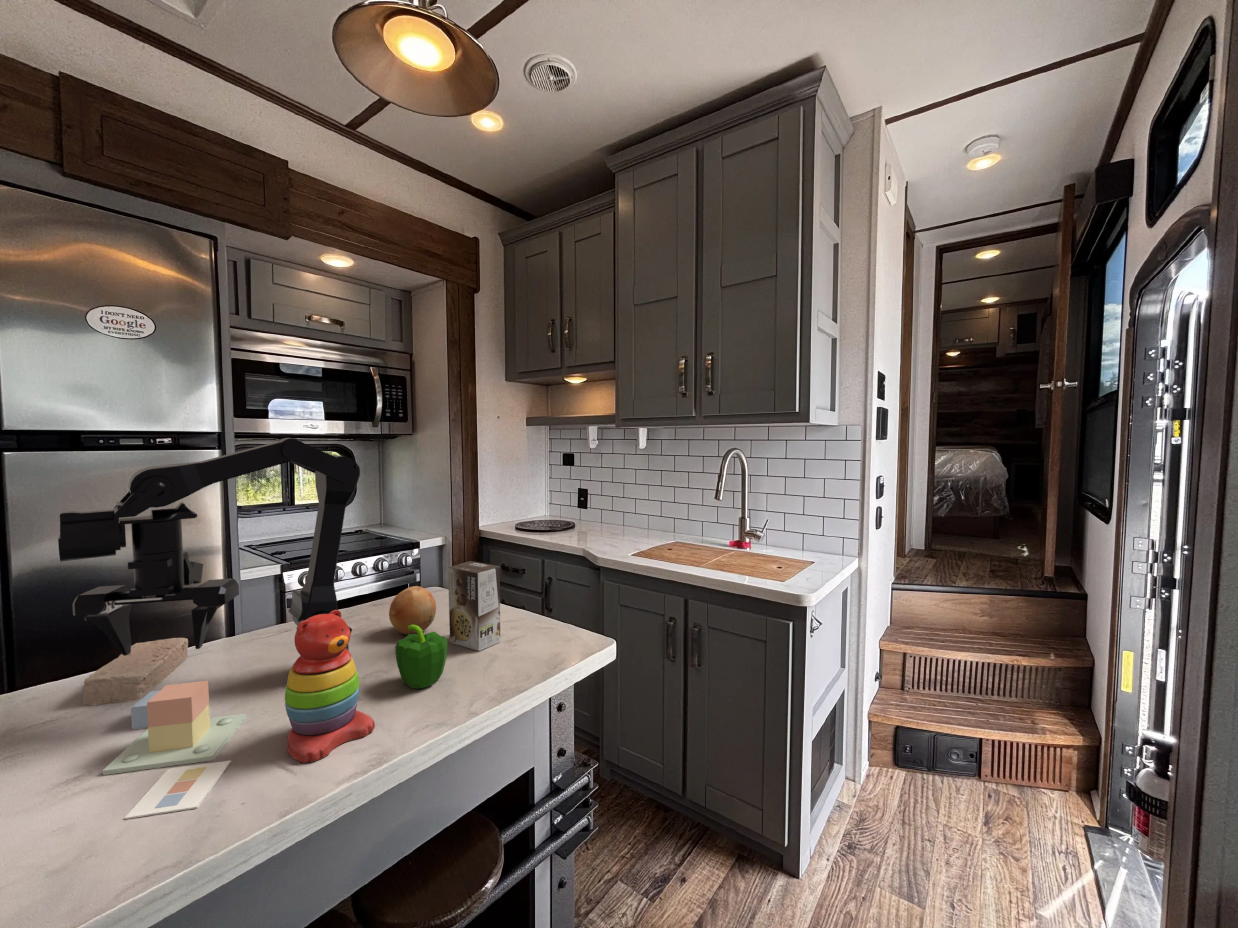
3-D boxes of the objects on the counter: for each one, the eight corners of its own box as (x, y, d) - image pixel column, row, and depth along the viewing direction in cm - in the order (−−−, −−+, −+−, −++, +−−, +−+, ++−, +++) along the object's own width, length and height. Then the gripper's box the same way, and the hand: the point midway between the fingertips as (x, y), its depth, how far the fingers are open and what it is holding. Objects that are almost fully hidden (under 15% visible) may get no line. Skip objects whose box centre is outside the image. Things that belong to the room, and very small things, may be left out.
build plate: (246, 717, 82) (245, 691, 81) (212, 760, 71) (211, 730, 71) (152, 728, 78) (151, 701, 78) (102, 775, 68) (101, 744, 68)
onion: (404, 622, 122) (403, 580, 121) (445, 625, 121) (444, 582, 120) (379, 639, 112) (378, 592, 112) (423, 642, 111) (422, 595, 110)
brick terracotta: (209, 703, 78) (208, 680, 77) (192, 721, 73) (191, 697, 73) (167, 708, 76) (166, 684, 76) (148, 727, 71) (147, 702, 71)
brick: (144, 700, 87) (142, 672, 87) (79, 708, 84) (77, 679, 84) (190, 659, 103) (189, 635, 102) (136, 665, 100) (135, 640, 100)
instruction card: (231, 761, 71) (231, 759, 71) (197, 807, 62) (197, 805, 62) (168, 770, 69) (168, 768, 69) (124, 819, 60) (124, 816, 60)
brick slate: (189, 708, 84) (188, 687, 84) (172, 725, 80) (171, 702, 79) (151, 713, 83) (150, 691, 83) (132, 730, 78) (130, 707, 78)
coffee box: (502, 641, 112) (501, 565, 111) (478, 652, 106) (477, 572, 105) (471, 632, 116) (471, 559, 115) (447, 642, 111) (446, 566, 110)
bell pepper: (456, 681, 94) (455, 626, 93) (410, 698, 88) (409, 639, 87) (432, 667, 99) (431, 614, 99) (388, 682, 93) (387, 626, 93)
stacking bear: (306, 767, 70) (302, 634, 68) (267, 743, 75) (263, 619, 74) (381, 728, 79) (378, 611, 78) (342, 709, 84) (339, 599, 83)
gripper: (250, 536, 90) (254, 626, 91) (117, 542, 85) (122, 637, 86) (221, 551, 80) (225, 652, 81) (66, 558, 75) (73, 666, 76)
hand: (163, 651), depth 81 cm, fingers open, 9 cm apart
